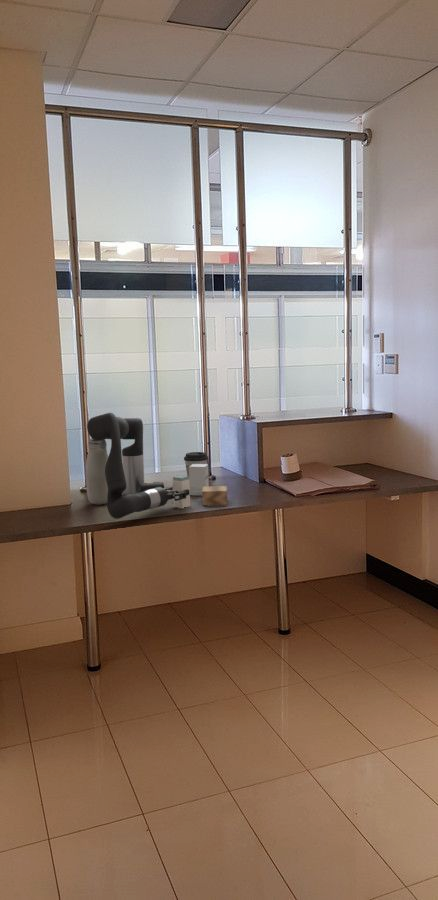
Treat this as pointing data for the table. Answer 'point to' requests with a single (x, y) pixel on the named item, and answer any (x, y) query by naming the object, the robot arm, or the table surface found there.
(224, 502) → the oak box
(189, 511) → the table surface
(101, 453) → the glass bottle
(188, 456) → the coffee cup
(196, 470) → the supplement box
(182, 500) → the cream carton
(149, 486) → the end cap
